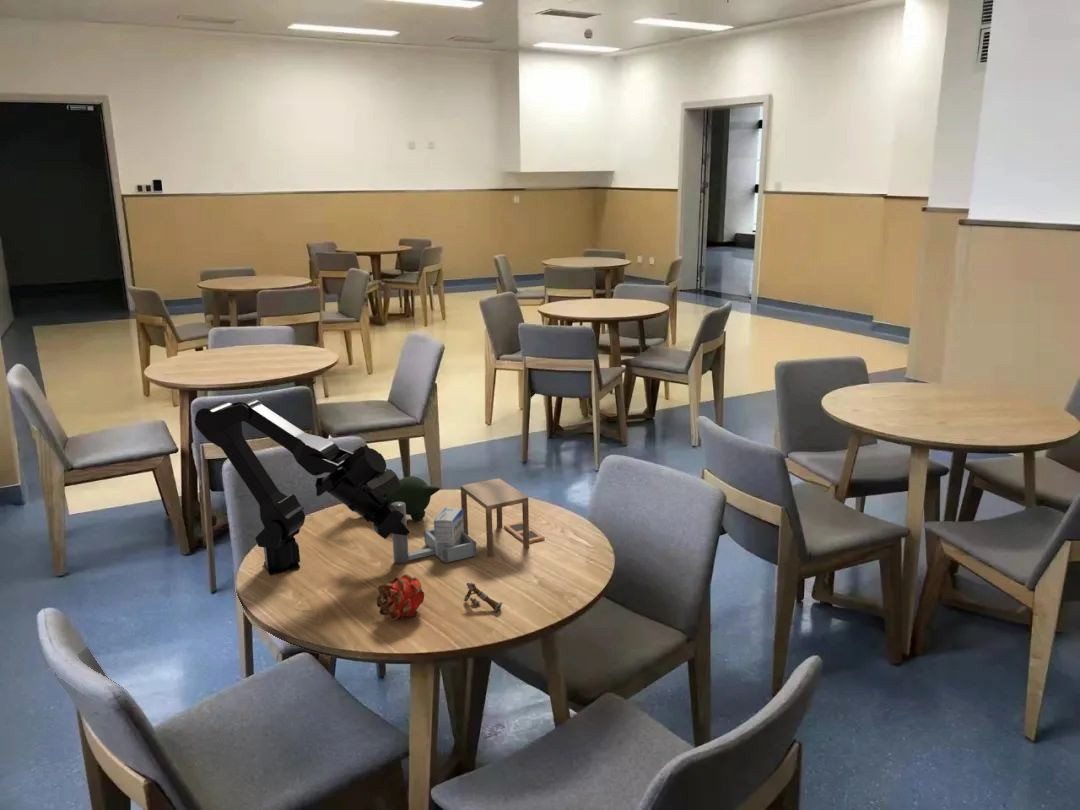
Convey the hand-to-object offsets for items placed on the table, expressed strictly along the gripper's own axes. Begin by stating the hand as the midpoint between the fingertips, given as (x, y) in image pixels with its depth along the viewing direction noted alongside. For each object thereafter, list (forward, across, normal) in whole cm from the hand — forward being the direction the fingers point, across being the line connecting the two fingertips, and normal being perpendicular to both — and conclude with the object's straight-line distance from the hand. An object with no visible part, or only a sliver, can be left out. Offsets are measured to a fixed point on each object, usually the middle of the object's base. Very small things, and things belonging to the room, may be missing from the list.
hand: (405, 530), depth 177 cm
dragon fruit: (-1, -22, +11) cm, 25 cm away
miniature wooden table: (+20, 0, -10) cm, 22 cm away
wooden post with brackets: (+9, -27, +2) cm, 29 cm away
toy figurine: (+9, +25, +1) cm, 27 cm away
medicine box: (+12, 0, -2) cm, 12 cm away
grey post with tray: (+9, 0, +1) cm, 9 cm away
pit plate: (+25, 0, -15) cm, 30 cm away
